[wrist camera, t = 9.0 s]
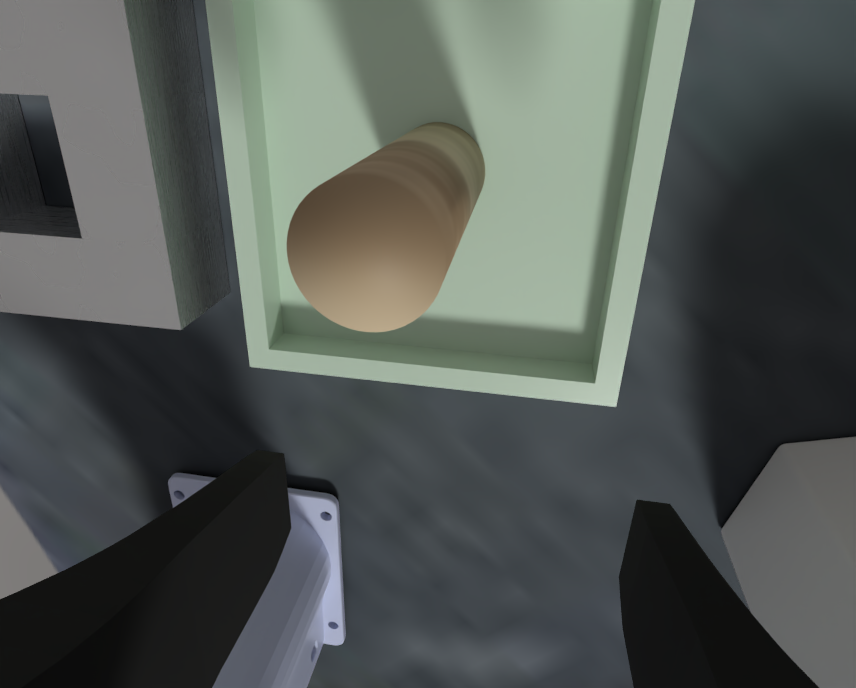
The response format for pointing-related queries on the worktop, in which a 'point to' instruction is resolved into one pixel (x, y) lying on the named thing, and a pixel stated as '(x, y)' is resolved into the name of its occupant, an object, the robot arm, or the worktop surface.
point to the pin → (387, 229)
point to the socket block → (109, 165)
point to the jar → (802, 555)
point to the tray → (503, 187)
